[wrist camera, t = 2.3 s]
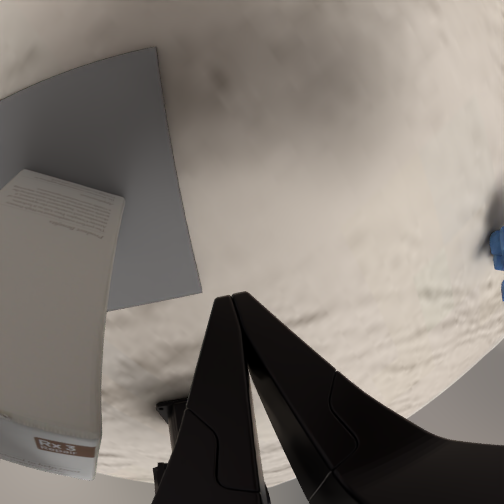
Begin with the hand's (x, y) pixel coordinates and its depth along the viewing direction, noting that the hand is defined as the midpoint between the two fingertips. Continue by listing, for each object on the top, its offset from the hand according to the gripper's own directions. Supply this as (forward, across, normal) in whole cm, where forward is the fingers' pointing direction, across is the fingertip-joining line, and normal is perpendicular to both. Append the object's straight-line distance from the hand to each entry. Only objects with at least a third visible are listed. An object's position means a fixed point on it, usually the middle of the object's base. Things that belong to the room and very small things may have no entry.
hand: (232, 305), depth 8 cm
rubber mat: (+9, +12, 0) cm, 15 cm away
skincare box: (+9, +7, 0) cm, 11 cm away
